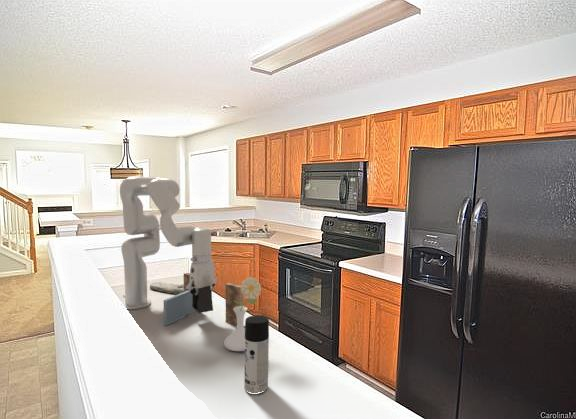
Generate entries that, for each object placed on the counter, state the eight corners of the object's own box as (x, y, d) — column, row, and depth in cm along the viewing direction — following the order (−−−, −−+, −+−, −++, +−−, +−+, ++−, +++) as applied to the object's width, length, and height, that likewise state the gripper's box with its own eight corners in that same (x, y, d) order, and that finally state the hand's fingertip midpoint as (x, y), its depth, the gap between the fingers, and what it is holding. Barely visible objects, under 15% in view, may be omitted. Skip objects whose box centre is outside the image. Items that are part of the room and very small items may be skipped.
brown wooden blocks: (183, 307, 158) (183, 273, 157) (187, 306, 160) (187, 272, 159) (239, 326, 138) (239, 287, 137) (243, 324, 140) (243, 286, 139)
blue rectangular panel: (196, 308, 156) (196, 287, 155) (199, 309, 155) (199, 287, 154) (163, 324, 138) (163, 300, 137) (167, 325, 137) (166, 300, 137)
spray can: (244, 381, 100) (245, 314, 98) (268, 381, 100) (268, 314, 99) (243, 395, 93) (244, 324, 92) (268, 395, 94) (269, 323, 92)
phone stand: (213, 310, 139) (212, 281, 139) (198, 313, 136) (198, 283, 135) (206, 304, 147) (205, 276, 146) (192, 306, 144) (191, 278, 143)
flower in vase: (225, 356, 114) (225, 283, 112) (222, 341, 125) (222, 274, 123) (263, 352, 118) (264, 280, 116) (257, 337, 129) (258, 272, 127)
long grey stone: (158, 287, 193) (145, 293, 184) (157, 278, 192) (144, 284, 183) (210, 292, 179) (198, 299, 170) (209, 282, 179) (198, 289, 170)
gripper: (190, 263, 131) (191, 309, 132) (223, 256, 145) (224, 297, 146) (178, 261, 135) (179, 305, 137) (211, 254, 149) (211, 294, 151)
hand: (202, 301), depth 142 cm, fingers closed on phone stand, 6 cm apart
